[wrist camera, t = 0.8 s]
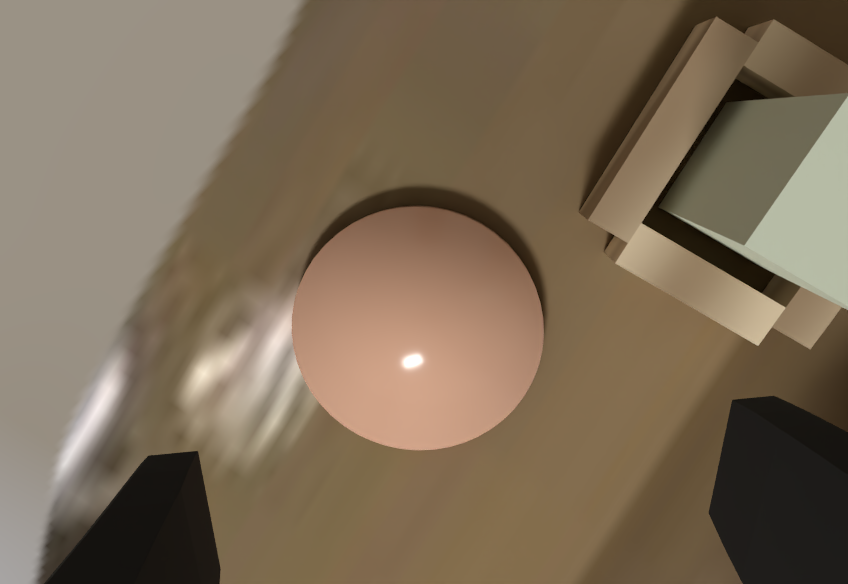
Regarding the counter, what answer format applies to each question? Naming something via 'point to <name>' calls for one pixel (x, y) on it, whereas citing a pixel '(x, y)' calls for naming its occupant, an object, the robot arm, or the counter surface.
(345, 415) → the terracotta coaster
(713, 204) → the sage peg
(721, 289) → the oak holder
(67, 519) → the counter surface
